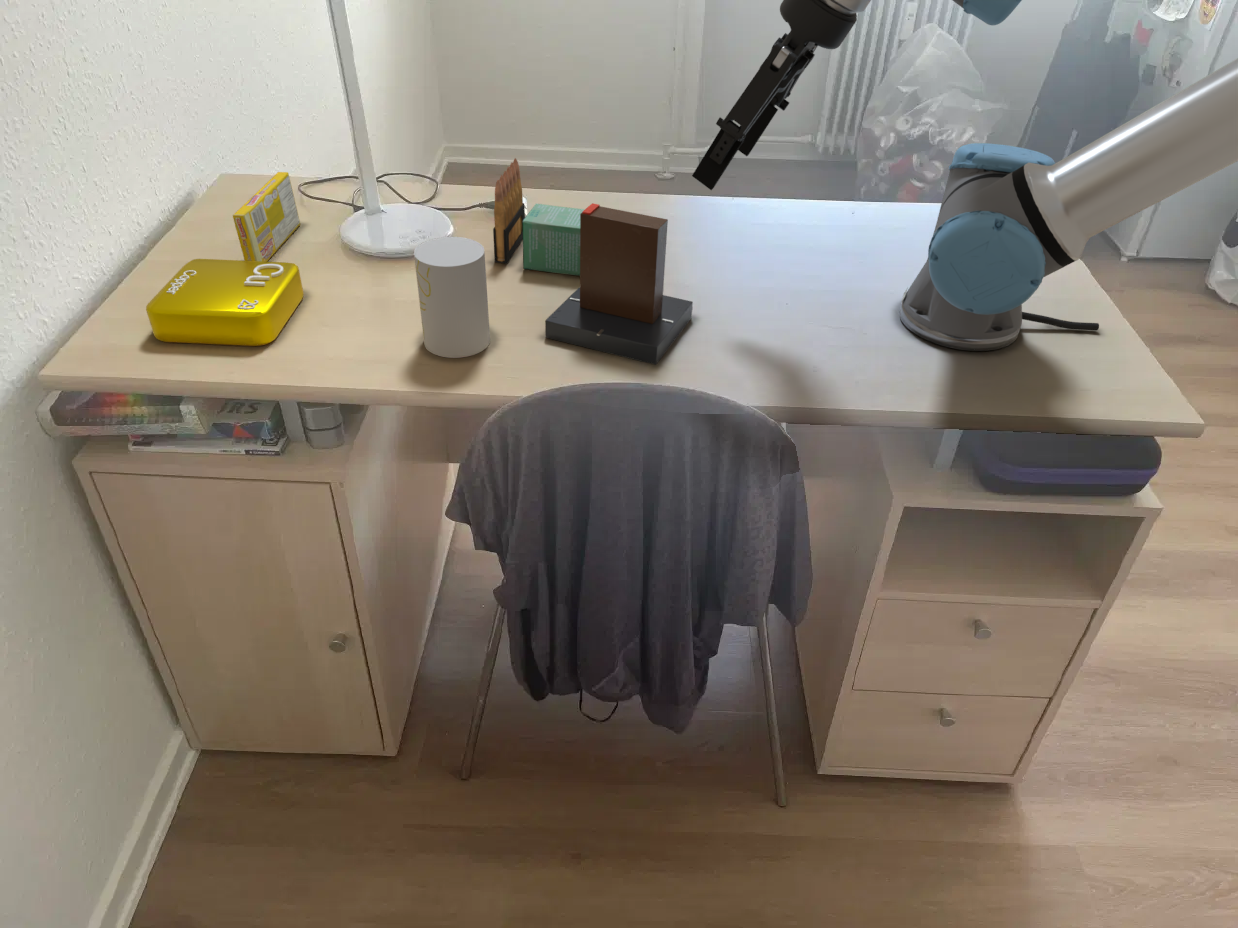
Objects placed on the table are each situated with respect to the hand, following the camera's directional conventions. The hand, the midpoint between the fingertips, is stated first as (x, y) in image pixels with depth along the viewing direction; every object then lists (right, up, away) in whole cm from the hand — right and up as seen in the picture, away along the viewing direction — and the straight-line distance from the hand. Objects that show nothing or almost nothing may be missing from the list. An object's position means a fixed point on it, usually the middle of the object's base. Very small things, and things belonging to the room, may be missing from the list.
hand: (721, 165), depth 108 cm
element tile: (-62, -16, +10) cm, 64 cm away
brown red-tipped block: (-12, -15, +9) cm, 22 cm away
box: (-18, -7, +25) cm, 32 cm away
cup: (-32, -20, +7) cm, 38 cm away
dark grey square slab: (-12, -18, +11) cm, 24 cm away
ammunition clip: (-28, -3, +29) cm, 41 cm away
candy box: (-63, -3, +27) cm, 68 cm away
